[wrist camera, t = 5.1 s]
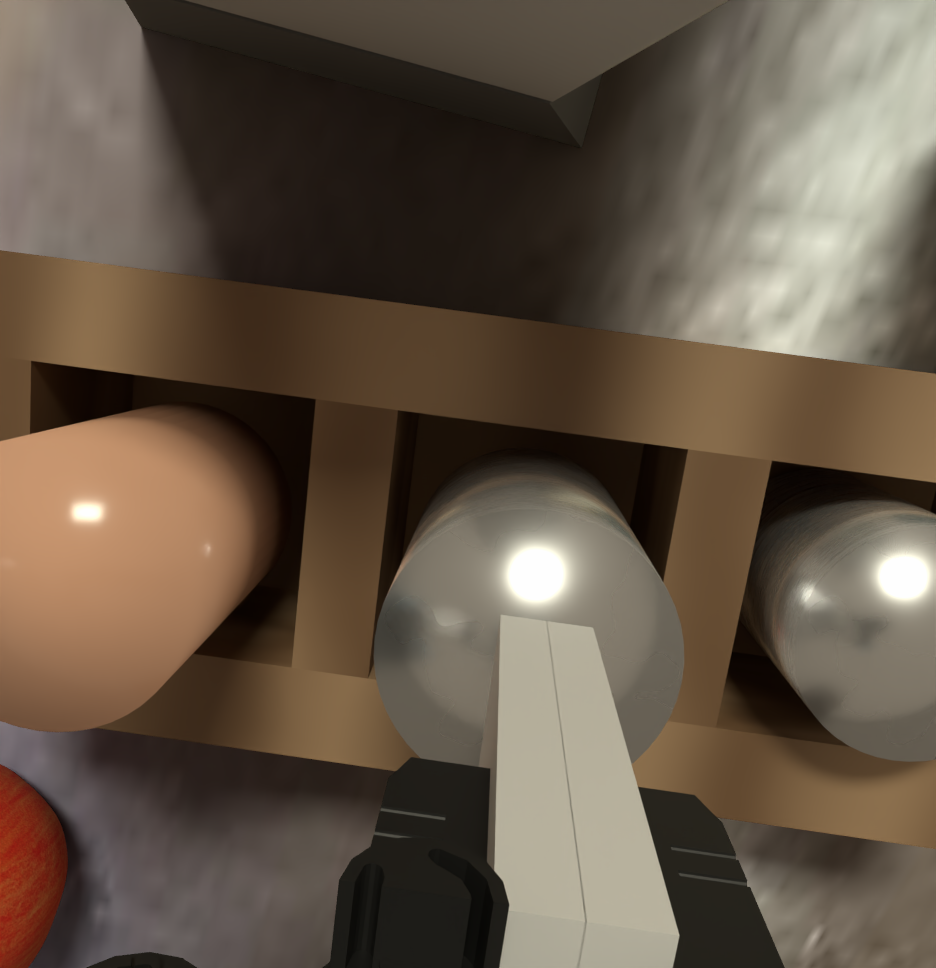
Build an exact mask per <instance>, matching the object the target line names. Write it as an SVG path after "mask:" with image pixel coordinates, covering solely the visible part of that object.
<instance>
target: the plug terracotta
mask: <svg viewBox="0 0 936 968" xmlns="http://www.w3.org/2000/svg"><path fill="white" fill-rule="evenodd" d="M291 519H292V504H291V496H290V490H289V486H288V482H287V479H286V476H285V474H284V471H283V469H282V466H281V464H280V463H279V461H278V459H277V457H276V455H275V454H274V452H273V451H272V450H271V448H270V447H269V445H268V444H267V443H266V442H265V441H264V439H263V438H262V437H261V436H260V435H259V434H258V433H257V432H256V431H255V430H253V429H252V428H251V427H250V426H249V425H247V424H246V423H245V422H243V421H242V420H240V419H239V418H237V417H236V416H234V415H232V414H230V413H228V412H226V411H223V410H221V409H218V408H215V407H212V406H209V405H205V404H200V403H195V402H167V403H162V404H157V405H153V406H148V407H144V408H140V409H136V410H131V411H127V412H123V413H119V414H114V415H110V416H106V417H102V418H97V419H93V420H89V421H84V422H80V423H76V424H72V425H67V426H63V427H59V428H55V429H50V430H46V431H42V432H38V433H33V434H29V435H25V436H21V437H16V438H12V439H8V440H4V441H0V721H2V722H6V723H9V724H12V725H15V726H18V727H22V728H27V729H32V730H37V731H48V732H72V731H80V730H86V729H92V728H95V727H99V726H102V725H105V724H108V723H111V722H113V721H115V720H118V719H120V718H122V717H124V716H126V715H128V714H129V713H131V712H132V711H134V710H135V709H137V708H139V707H140V706H142V705H143V704H144V703H145V702H146V701H147V700H148V699H150V698H151V697H152V696H153V695H154V694H155V693H156V692H157V691H158V690H159V689H160V688H161V687H162V686H163V685H164V684H165V683H166V681H167V680H168V679H169V678H170V677H171V676H172V675H173V674H174V673H175V672H176V671H177V670H178V669H179V668H180V667H181V666H182V665H183V664H184V662H185V661H186V660H187V659H188V658H189V657H190V656H191V655H192V654H193V653H194V652H195V651H196V650H197V649H198V648H199V647H200V646H201V645H202V643H203V642H204V641H205V640H206V639H207V638H208V637H209V636H210V635H211V634H212V633H213V632H214V631H215V630H216V629H217V628H218V627H219V626H220V624H221V623H222V622H223V621H224V620H225V619H226V618H227V617H228V616H229V615H230V614H231V613H232V612H233V611H234V610H235V609H236V608H237V606H238V605H239V604H240V603H241V602H242V601H243V600H244V599H245V598H246V597H247V596H248V595H249V594H250V593H251V592H252V591H253V590H254V589H255V587H256V586H257V585H258V584H259V583H260V582H261V581H262V580H263V579H264V578H265V577H266V576H267V575H268V573H269V572H270V571H271V570H272V569H273V568H274V566H275V565H276V563H277V561H278V560H279V558H280V557H281V554H282V552H283V550H284V548H285V546H286V543H287V539H288V536H289V533H290V526H291Z"/></svg>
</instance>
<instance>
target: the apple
mask: <svg viewBox="0 0 936 968" xmlns="http://www.w3.org/2000/svg"><path fill="white" fill-rule="evenodd" d="M67 869H68V856H67V847H66V841H65V836H64V832H63V829H62V826H61V823H60V822H59V820H58V818H57V816H56V814H55V813H54V811H53V810H52V809H51V807H50V806H49V805H48V803H47V802H46V801H45V800H44V799H43V798H42V797H41V796H40V795H39V794H38V793H37V791H36V790H35V789H34V788H32V787H31V786H30V785H29V784H28V783H27V782H25V781H24V780H23V779H22V778H21V777H19V776H18V775H17V774H16V773H14V772H13V771H11V770H10V769H8V768H7V767H5V766H2V765H0V968H28V967H29V966H30V964H31V963H32V962H33V960H34V959H35V957H36V955H37V954H38V952H39V951H40V949H41V947H42V945H43V943H44V941H45V939H46V937H47V935H48V933H49V930H50V928H51V926H52V923H53V920H54V917H55V915H56V912H57V909H58V906H59V903H60V900H61V897H62V893H63V890H64V886H65V881H66V876H67Z"/></svg>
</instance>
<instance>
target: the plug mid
mask: <svg viewBox="0 0 936 968" xmlns="http://www.w3.org/2000/svg"><path fill="white" fill-rule="evenodd" d="M500 615H507V616H514V617H521V618H528V619H535V620H542V621H550V622H557V623H564V624H571V625H578V626H585V627H592V628H593V629H594V632H595V636H596V639H597V643H598V647H599V650H600V654H601V657H602V661H603V664H604V668H605V672H606V675H607V679H608V682H609V686H610V689H611V693H612V697H613V700H614V704H615V707H616V711H617V714H618V718H619V722H620V725H621V729H622V732H623V736H624V739H625V743H626V747H627V750H628V754H629V757H630V761H631V764H633V763H634V762H635V761H636V760H637V759H638V758H639V757H640V756H641V755H642V754H643V753H644V752H645V751H646V750H647V749H648V748H649V747H650V746H651V744H652V743H653V742H654V741H655V739H656V738H657V737H658V736H659V734H660V733H661V731H662V729H663V728H664V726H665V724H666V723H667V721H668V719H669V718H670V715H671V713H672V710H673V708H674V706H675V703H676V701H677V698H678V694H679V691H680V687H681V683H682V677H683V669H684V641H683V635H682V629H681V624H680V620H679V617H678V614H677V611H676V607H675V605H674V603H673V600H672V598H671V596H670V594H669V592H668V590H667V588H666V586H665V584H664V583H663V581H662V580H661V578H660V576H659V575H658V573H657V571H656V570H655V568H654V566H653V565H652V563H651V561H650V560H649V558H648V556H647V555H646V553H645V551H644V550H643V548H642V546H641V545H640V543H639V541H638V540H637V538H636V536H635V535H634V533H633V531H632V530H631V528H630V526H629V525H628V523H627V521H626V520H625V518H624V516H623V515H622V513H621V511H620V510H619V508H618V506H617V505H616V503H615V502H614V500H613V498H612V497H611V495H610V494H609V492H608V491H607V489H606V488H605V487H604V486H603V485H602V483H601V482H600V481H599V480H598V479H597V478H596V477H595V476H594V475H593V474H591V473H590V472H589V471H588V470H587V469H585V468H584V467H582V466H581V465H579V464H578V463H576V462H574V461H572V460H570V459H568V458H566V457H564V456H562V455H559V454H556V453H553V452H550V451H546V450H541V449H535V448H508V449H502V450H497V451H493V452H490V453H487V454H484V455H481V456H479V457H476V458H474V459H472V460H470V461H468V462H467V463H465V464H464V465H462V466H461V467H459V468H457V469H456V470H455V471H454V472H453V473H451V474H450V475H449V476H448V477H447V478H446V479H445V480H444V481H443V482H442V483H441V484H440V486H439V487H438V488H437V489H436V491H435V492H434V494H433V495H432V497H431V498H430V500H429V502H428V504H427V506H426V508H425V510H424V512H423V514H422V516H421V519H420V521H419V523H418V525H417V528H416V530H415V532H414V535H413V537H412V539H411V541H410V544H409V546H408V548H407V550H406V553H405V555H404V557H403V560H402V562H401V564H400V566H399V569H398V571H397V573H396V576H395V578H394V580H393V582H392V585H391V587H390V589H389V592H388V594H387V596H386V598H385V601H384V603H383V606H382V609H381V612H380V615H379V618H378V622H377V628H376V633H375V639H374V666H375V676H376V680H377V685H378V689H379V693H380V696H381V699H382V701H383V704H384V707H385V709H386V712H387V714H388V715H389V717H390V719H391V721H392V723H393V725H394V726H395V728H396V730H397V731H398V732H399V734H400V735H401V737H402V738H403V739H404V741H405V742H406V743H407V745H408V746H409V747H410V748H411V749H412V750H413V751H414V752H415V753H416V754H417V755H418V756H419V757H420V758H421V759H428V760H435V761H442V762H449V763H456V764H463V765H470V766H477V767H478V766H479V759H480V752H481V746H482V739H483V732H484V725H485V718H486V711H487V704H488V697H489V691H490V684H491V677H492V670H493V663H494V656H495V649H496V643H497V636H498V629H499V622H500Z"/></svg>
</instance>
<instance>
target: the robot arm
mask: <svg viewBox="0 0 936 968" xmlns="http://www.w3.org/2000/svg"><path fill="white" fill-rule="evenodd" d="M87 968H197V967H195V966H194V965H192V964H191V963H189V962H187V961H186V960H184V959H183V958H179V957H174V956H168V955H163V954H158V953H152V952H147V953H139V954H130V955H122V956H114V957H112V958H109V959H107V960H104V961H102V962H99V963H97V964H94V965H92V966H89V967H87ZM323 968H784V965H783V963H782V961H781V958H780V956H779V954H778V951H777V949H776V947H775V944H774V942H773V940H772V937H771V935H770V933H769V930H768V928H767V926H766V923H765V921H764V919H763V916H762V914H761V912H760V909H759V907H758V905H757V902H756V900H755V898H754V895H753V893H752V891H751V888H750V887H747V879H746V877H745V874H744V872H743V870H742V867H741V865H740V863H739V860H736V853H735V851H734V849H733V846H732V844H731V842H730V839H729V837H728V835H727V832H726V830H725V828H724V825H723V823H722V822H721V821H720V820H719V819H718V818H717V817H716V816H715V815H714V814H713V813H712V812H711V811H710V810H709V809H708V808H707V807H706V806H705V805H704V804H703V803H702V802H701V801H700V800H699V799H698V798H697V797H696V796H695V795H692V794H685V793H678V792H671V791H664V790H657V789H650V788H643V787H638V786H637V782H636V779H635V775H634V772H633V768H632V764H631V761H630V757H629V754H628V750H627V747H626V743H625V739H624V736H623V732H622V729H621V725H620V722H619V718H618V714H617V711H616V707H615V704H614V700H613V697H612V693H611V689H610V686H609V682H608V679H607V675H606V672H605V668H604V664H603V661H602V657H601V654H600V650H599V647H598V643H597V639H596V636H595V632H594V629H593V628H592V627H585V626H578V625H571V624H564V623H557V622H550V621H542V620H535V619H528V618H521V617H514V616H507V615H500V622H499V629H498V636H497V643H496V649H495V656H494V663H493V670H492V677H491V684H490V691H489V697H488V704H487V711H486V718H485V725H484V732H483V739H482V746H481V752H480V759H479V766H478V767H477V766H470V765H463V764H456V763H449V762H442V761H435V760H428V759H421V758H414V757H411V758H410V759H409V760H408V761H406V762H405V763H404V764H403V765H402V766H401V767H400V768H399V769H398V770H397V771H396V772H395V773H393V774H392V775H391V776H390V777H389V778H388V782H387V786H386V790H385V794H384V798H383V801H382V805H381V811H380V813H379V817H378V821H377V824H376V828H375V834H374V836H373V840H372V844H371V847H369V848H368V849H366V850H365V851H363V852H362V853H360V854H359V855H357V856H356V857H354V858H353V859H352V860H351V861H350V863H349V865H348V866H347V868H346V870H345V871H344V873H343V874H342V876H341V878H340V879H339V887H338V896H337V905H336V914H335V923H334V932H333V941H332V950H331V959H330V962H329V963H328V964H327V965H325V966H324V967H323Z"/></svg>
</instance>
